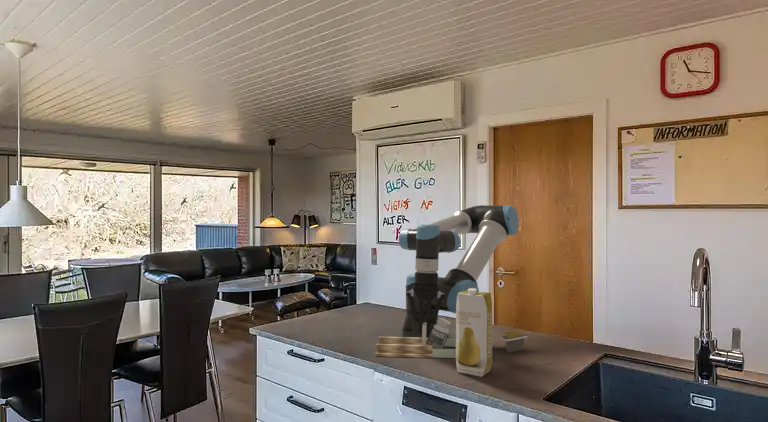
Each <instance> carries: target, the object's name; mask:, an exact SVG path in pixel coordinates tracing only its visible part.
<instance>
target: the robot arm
mask: <svg viewBox="0 0 768 422" xmlns="http://www.w3.org/2000/svg"><path fill="white" fill-rule="evenodd" d="M519 220H520V219H519V215H518V212H517V209H516V208H515V207H514V206H513V205H506V204H503V205H486V204H484V205H476V206H475V205H474V206H471V207H468V208H465V209H462V210H458V211H456V212H455V213H453V215H452V216H449V217H446V218H443V219H440V220H437V221H434V222H432V223H429V224H423V223H422V224H418V225H417V227H416V228H406V229H402V230H401V232H400V233H399V235H398V245H399V247H400V248H401V249H403V250H407V251H415V262H414V263H415V264H414V265H415V267H414V269H415V270H416V271H415V272H414V273H412V274H408V275H407V277H406V278H405V279H406V281H405V316H404V320H403V322H402V324H401V325H402V326H401V328H400V337H417V338H422V345H426V338H428V337H429V335H430V332H431V330H432V327H433V325H434V324H436V323H437V319H438V318H439V312H440V311H443V312H449V313H453V314H456V302H457V295H458V293H459V292H462V291H466V290H468V289H471V288H475V289H477V292H480V290H479V285H478V279H479V277H480V275H481V274H482V272H483V270H484V268H485V267H486V265H487V264H488V262H489V261H490V258H491V257H492V255H493V254H494V252H495V249H497V246H498V245H499V244H502V243H503V242H505V240H506V239H507V237H508V236H509V235H510V236H513V235H516V234H517V233H518V230H519V224H520V223H519ZM467 234H476V236H475V238H474V239H473V241H472V242H471V244H469V245H470V246H469V247H468V248H467V250H466V251H465V254H464V255H463V256H462V258H461V260H460V261H459V263H458V264H457V266H456V267H455V268H451V269H449V271H448V272H447V274H446V275H445V276H444V277H441V276H439V273H438V271H439V257H440V256H439V254H441V253H448V254H450V253H454V252H456V251H458V249H459V248H460V247H461V244H462V243H461V242H462V241H461V240H462V239H461V236H460V235H467Z"/></svg>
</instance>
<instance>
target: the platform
mask: <svg viewBox="0 0 768 422" xmlns="http://www.w3.org/2000/svg"><path fill="white" fill-rule="evenodd" d="M528 337H529V336H528V335H527V334H522V333H521V331H518V330H510V331H506V332H504V335H503V336H501V340H503V341H504V342H505V343H506V344H505V346H506V347H505V348H506V349H505V350H506V353H507V354H509V353H512V352H517V351H521V350H524V349H525V347H524V346H525V344H524V343H525V339H526V338H528Z"/></svg>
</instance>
